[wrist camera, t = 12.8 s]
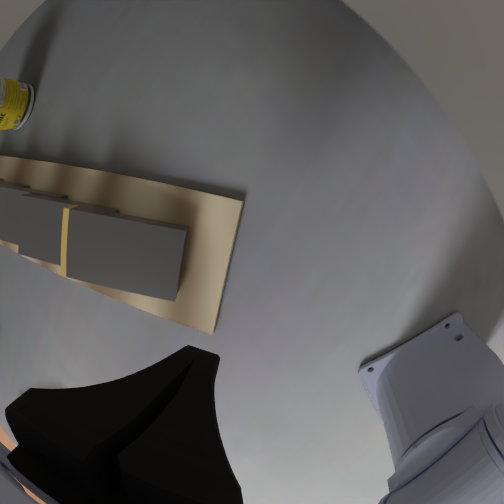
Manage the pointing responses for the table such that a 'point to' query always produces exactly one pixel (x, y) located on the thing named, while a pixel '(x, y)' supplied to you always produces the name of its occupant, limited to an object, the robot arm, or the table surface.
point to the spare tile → (122, 251)
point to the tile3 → (15, 209)
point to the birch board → (157, 208)
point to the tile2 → (44, 225)
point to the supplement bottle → (15, 103)
